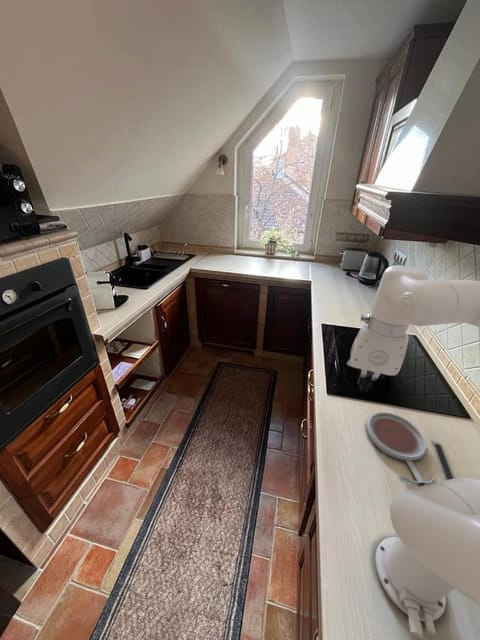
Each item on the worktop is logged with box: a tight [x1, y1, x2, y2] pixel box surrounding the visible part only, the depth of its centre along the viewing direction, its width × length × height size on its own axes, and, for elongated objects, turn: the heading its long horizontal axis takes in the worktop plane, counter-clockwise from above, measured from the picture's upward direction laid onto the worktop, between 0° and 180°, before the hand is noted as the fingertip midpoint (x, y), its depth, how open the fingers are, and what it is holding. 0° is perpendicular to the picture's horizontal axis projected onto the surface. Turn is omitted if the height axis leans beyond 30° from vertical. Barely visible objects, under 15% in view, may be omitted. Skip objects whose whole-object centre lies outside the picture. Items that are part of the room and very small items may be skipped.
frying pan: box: [366, 411, 436, 486], centre depth 77 cm, size 17×3×28 cm
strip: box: [434, 443, 454, 480], centre depth 75 cm, size 12×2×1 cm, turn 161°
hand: (363, 387), depth 63 cm, fingers closed
